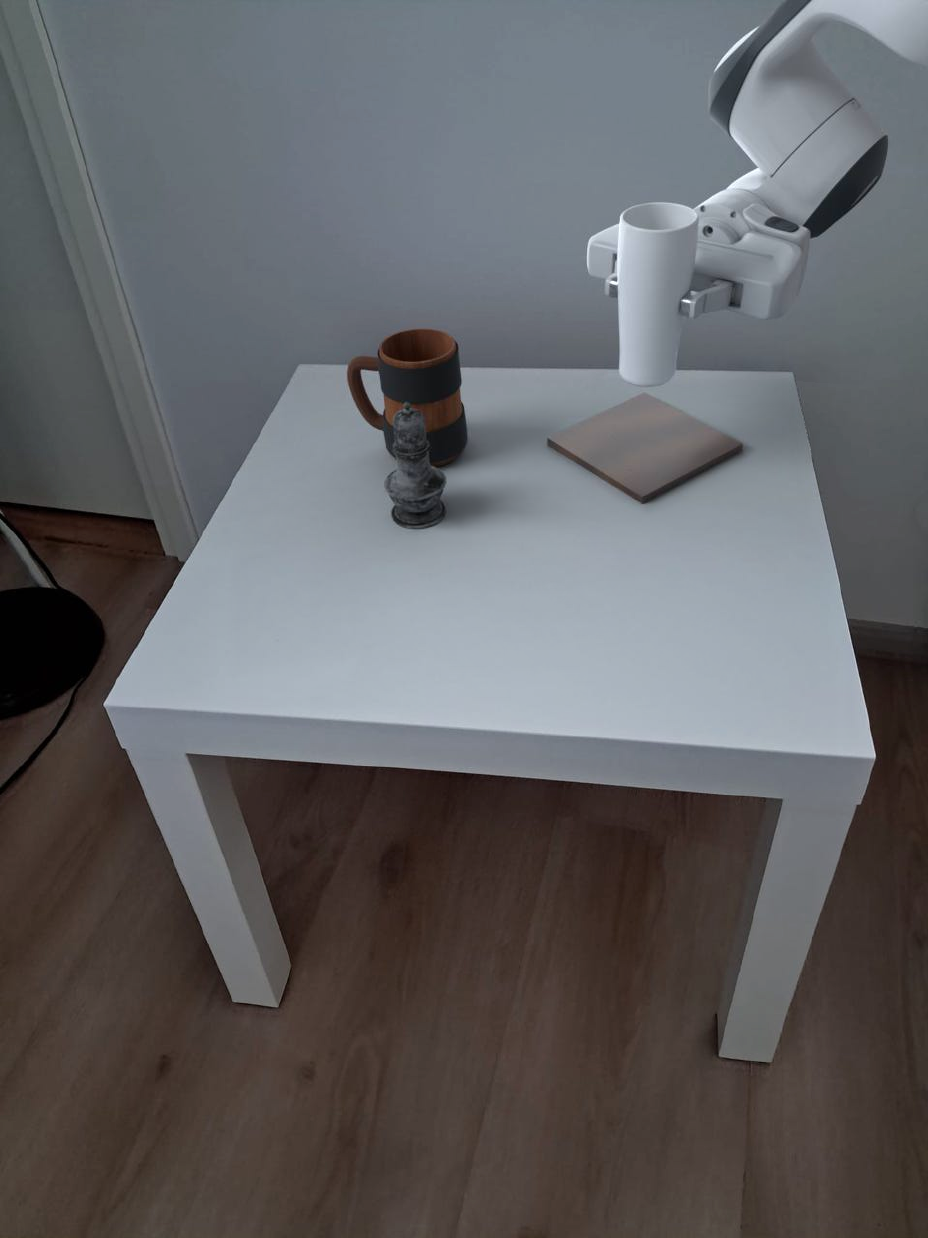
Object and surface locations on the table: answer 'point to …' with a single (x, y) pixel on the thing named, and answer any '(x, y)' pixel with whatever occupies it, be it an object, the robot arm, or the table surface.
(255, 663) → the table surface
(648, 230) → the drinking glass
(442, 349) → the mug
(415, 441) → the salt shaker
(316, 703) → the table surface
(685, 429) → the walnut board
